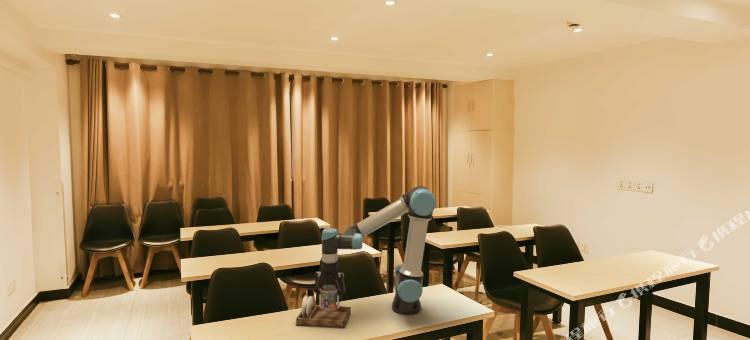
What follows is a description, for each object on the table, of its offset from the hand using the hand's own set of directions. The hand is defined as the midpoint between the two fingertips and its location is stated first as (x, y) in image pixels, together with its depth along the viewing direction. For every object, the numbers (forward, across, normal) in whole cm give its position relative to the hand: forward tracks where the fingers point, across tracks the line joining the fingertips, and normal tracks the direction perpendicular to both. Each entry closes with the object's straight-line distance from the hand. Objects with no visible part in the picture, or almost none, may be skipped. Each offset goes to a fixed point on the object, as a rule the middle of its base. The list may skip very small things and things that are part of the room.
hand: (329, 307), depth 214 cm
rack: (+6, +2, 0) cm, 7 cm away
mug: (+1, 0, 0) cm, 1 cm away
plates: (+5, +11, 0) cm, 12 cm away
